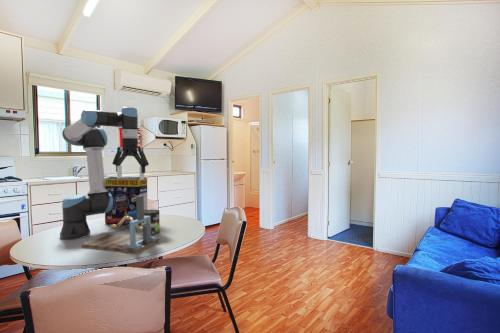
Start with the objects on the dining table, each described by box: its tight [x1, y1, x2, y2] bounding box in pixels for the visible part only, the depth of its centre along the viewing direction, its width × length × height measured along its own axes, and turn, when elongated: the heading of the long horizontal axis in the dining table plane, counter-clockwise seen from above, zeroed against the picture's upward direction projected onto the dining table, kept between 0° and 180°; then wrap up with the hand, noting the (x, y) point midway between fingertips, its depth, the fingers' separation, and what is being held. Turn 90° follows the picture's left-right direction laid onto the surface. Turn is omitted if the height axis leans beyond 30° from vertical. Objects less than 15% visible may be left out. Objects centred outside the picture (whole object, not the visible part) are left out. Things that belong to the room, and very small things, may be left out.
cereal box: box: [104, 176, 148, 226], centre depth 195 cm, size 27×11×32 cm, turn 80°
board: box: [81, 233, 160, 254], centre depth 151 cm, size 34×18×2 cm, turn 74°
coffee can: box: [141, 209, 161, 237], centre depth 167 cm, size 10×10×14 cm
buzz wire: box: [109, 216, 151, 245], centre depth 149 cm, size 24×3×14 cm, turn 74°
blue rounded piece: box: [125, 210, 141, 229], centre depth 181 cm, size 12×7×12 cm, turn 74°
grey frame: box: [125, 195, 157, 249], centre depth 146 cm, size 8×15×25 cm, turn 164°
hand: (130, 178), depth 148 cm, fingers open, 13 cm apart
